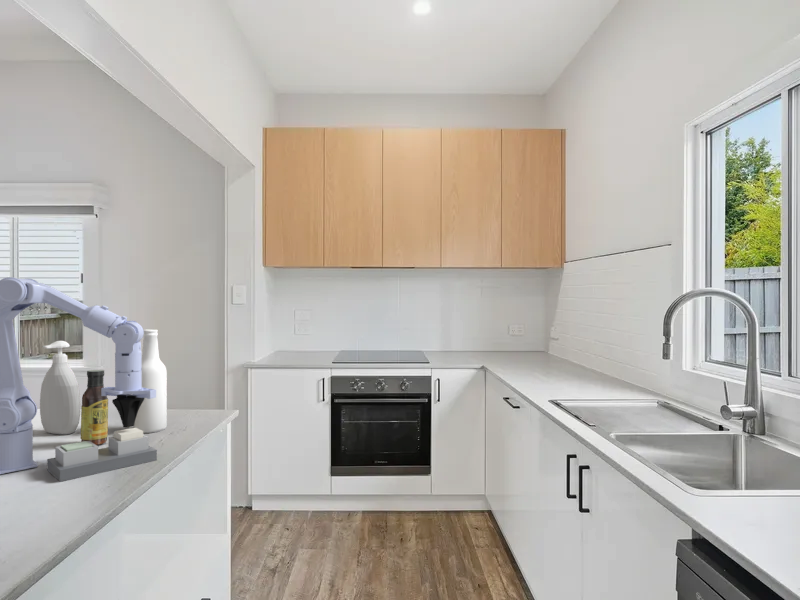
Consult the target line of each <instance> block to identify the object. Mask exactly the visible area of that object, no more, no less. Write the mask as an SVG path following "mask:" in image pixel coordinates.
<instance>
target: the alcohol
mask: <svg viewBox="0 0 800 600" xmlns="http://www.w3.org/2000/svg"><path fill="white" fill-rule="evenodd" d="M143 330H144V335H143V338H142V340H143V341H142V348H141V352H142V387H143V388H148V389H155V390H156V398H152V399H147V398H144V401H143V402H142V404H141V406H140V408H139V410H138V413H137V416H136V419H135V423H134V426H133V428H138V429H140V430H142V431H143V434H155V433H161V432H162V431H164V430H165V429H166V428H167V426H168V424H167V423H168V414H167V412H168V409H167V407H168V406H167V405H168V399H167V398H168V395H167V394H168V393H167V390H168V388H167V387H168V385H167V384H168V383H167V381H168V379H167V378H168V371H167V366H166V365H165V364H164V362H163V361H162V360H161V358H160V351H159V339H158V335H159V333H158V332H159V330H158V329H154V328H153V329H152V328H151V329H143Z"/></svg>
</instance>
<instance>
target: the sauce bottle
mask: <svg viewBox="0 0 800 600" xmlns="http://www.w3.org/2000/svg"><path fill="white" fill-rule="evenodd" d="M86 376H87V384H86V385H87V386H86V387H87V388H86V389H85V391H84V392H83V394H82V398H81V405H80V439H81V441H80V442H83V441H90V442H92V443H94V444H95V445H97V446H101V445H104V444H105V443H106V442H107V440H108V429H109V428H108V427H109V422H108V421H109V399H108V396H102V390H101V388H105V386H104V377H105V370H104V369H89V370H87V371H86Z"/></svg>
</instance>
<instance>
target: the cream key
mask: <svg viewBox="0 0 800 600" xmlns="http://www.w3.org/2000/svg"><path fill="white" fill-rule="evenodd" d="M143 434H144V433H143V431H142V430H140V429H138V428H134V427H129V428H126V429H121V430H115V431H113V436H114V438H115V439H117V440H119V441H120V442H121V441H126V440H131V439H136V438H142V437H143Z"/></svg>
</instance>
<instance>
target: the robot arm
mask: <svg viewBox="0 0 800 600" xmlns="http://www.w3.org/2000/svg"><path fill="white" fill-rule="evenodd" d="M34 304H47V305H49V306H52V307H54V308H57V309H58V310H61V311H63V312H66V313H67V314H70V315H73V316H75V317H77V318H80V320H81V322H82V325H83V326H84V327H86V328H87V329H90V330H92V331H94V332H96V333H98V334H100V335H101V336H102V335H103V336H104V337H107V338H109V339H110V338H111V340H112V341H113V343H115V353H114V358H115V359H114V378H115V379H114V386H106V387H105V386H104V388H101V390H102V396H107V397H108V396H110V397H116V398H114V399H112V400H111V401H112V404H113V405H114V407H115V408H116V410H117V412H118V415H119V417H120V421H121V423H122V426H123V428H126V429H129V428H132V427H134V423H135V419H136V416H137V413H138V410H139V408H140V406H141V404H142V402H143V401H144V398H147V399H152V398H156V390H155V389H148V388H143V387H142V341H141V340H143V337H144V336H143V335H144V330H145V329H144V328H143V326H142V325H141V324H140V323H139V322H137V321H136V320H127V319H128V316H125V315H122V316H121V315H119V314H117V313H115V312H113V311H112V310H109V309H110V307H108V306H107V305H101V306H100V305H97V304H96V305H92V306H88V305H87V304H85V303H83V302H81V301H79V300H77V299H76V298H73V297H72V296H70V295H67V294H66V293H64V292H62V291H60V290H58V289H57V288H55V287H52V286H51V285H48V284H46V283H43V282H39V281H37V280H35V279H32V278H17V277H13V276H12V277H10V276H9V277H3V278H2V279H0V475H3V474H8V473H13V472H17V471H25V470H28V469H34V468H37V467H38V466H39V464H38V463H37V462H36V461H35V460H34V459H33V458H34V453H33V448H34V446H33V445H34V444H33V442H34V441H33V440H34V439H33V437H34V434H33V433H34V431H33V429H34V427H33V426H34V425H33V422H32V421H33V419H34V418H35V417H36V415H37V412H38V406H37V404H36V402H35V401H34V400H33V398H32V396H31V391H30V390H29V389H28V388H27V387H26V386H25V385H24V380H23V373H22V367H21V362H20V356H19V355H20V354H19V350H18V344H17V338H16V332H15V327H14V319H16V318H17V316H18V315H19V314H20V313H21V312H23V310H25V309H27V308H29V307H31V306H33V305H34Z"/></svg>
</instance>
